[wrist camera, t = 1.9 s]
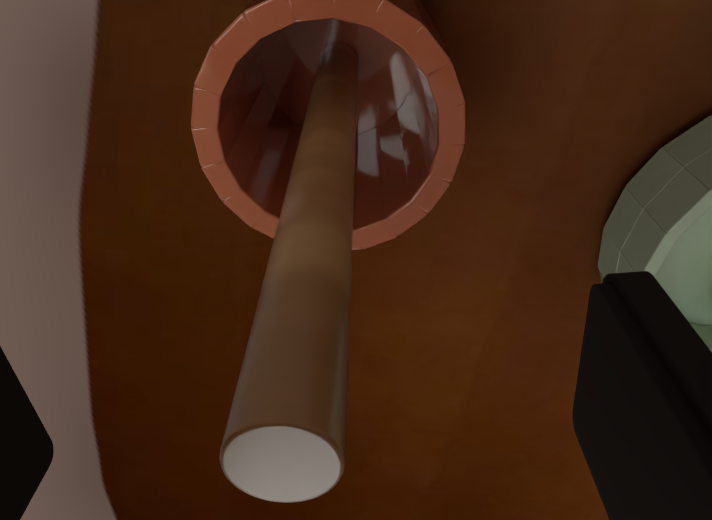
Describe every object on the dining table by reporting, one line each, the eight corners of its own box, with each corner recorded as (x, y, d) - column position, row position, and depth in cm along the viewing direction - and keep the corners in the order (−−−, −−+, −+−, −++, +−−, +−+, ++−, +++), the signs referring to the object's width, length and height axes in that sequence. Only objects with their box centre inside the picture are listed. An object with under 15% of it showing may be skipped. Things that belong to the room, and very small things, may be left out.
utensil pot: (226, -37, 23) (157, 3, 15) (432, -58, 22) (467, -29, 15) (263, 155, 27) (224, 260, 19) (436, 140, 27) (464, 242, 19)
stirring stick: (317, 44, 24) (205, 425, 7) (356, 40, 24) (337, 418, 7) (322, 83, 25) (233, 507, 8) (360, 79, 25) (350, 501, 8)
